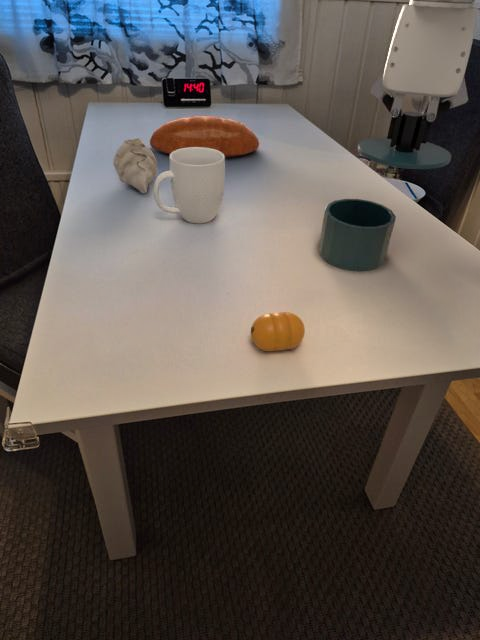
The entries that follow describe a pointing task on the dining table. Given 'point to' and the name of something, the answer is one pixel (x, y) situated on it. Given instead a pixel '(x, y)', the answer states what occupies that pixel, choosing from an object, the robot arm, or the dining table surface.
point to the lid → (405, 148)
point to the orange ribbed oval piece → (277, 331)
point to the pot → (356, 234)
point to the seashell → (135, 164)
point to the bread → (205, 135)
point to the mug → (194, 183)
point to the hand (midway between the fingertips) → (405, 145)
